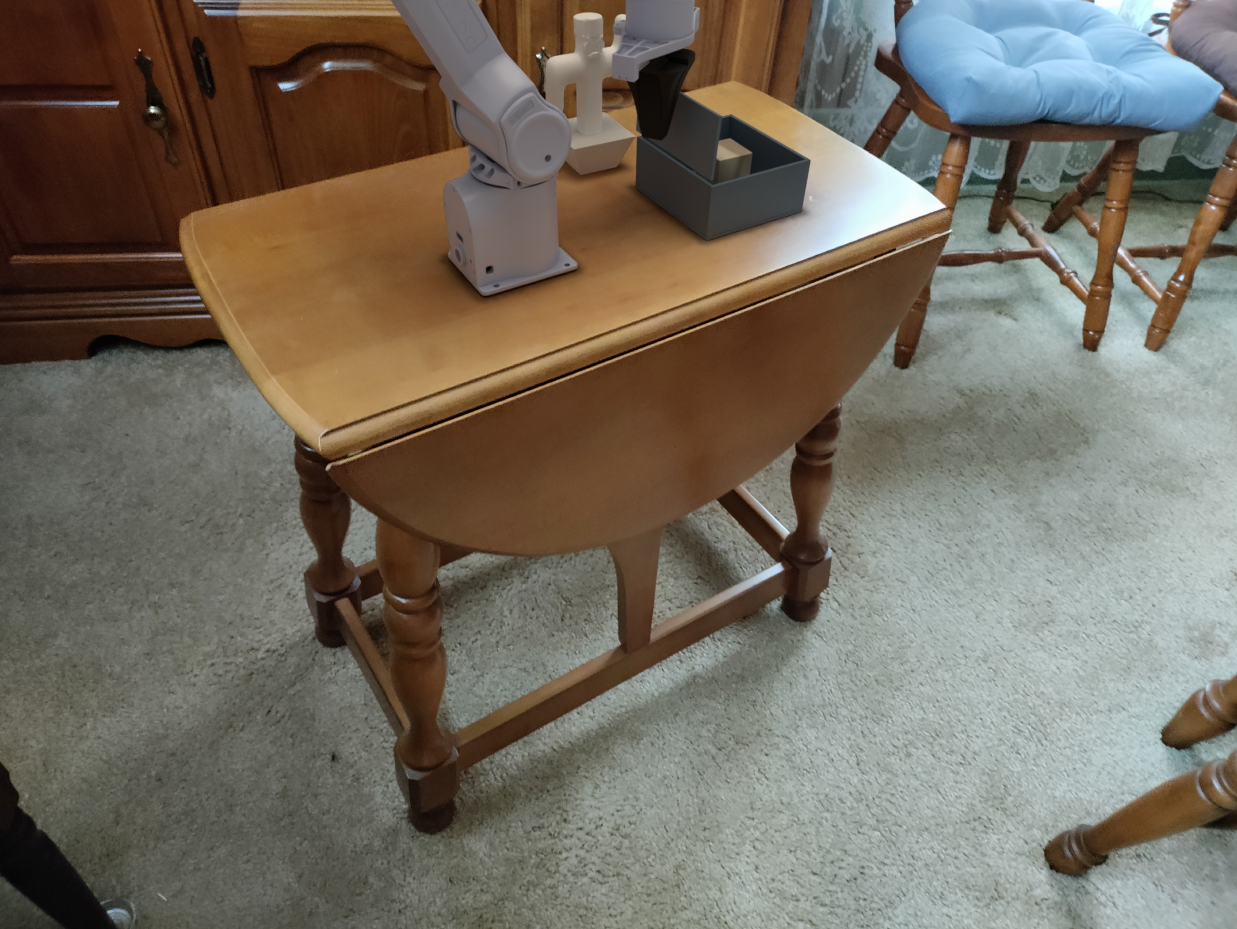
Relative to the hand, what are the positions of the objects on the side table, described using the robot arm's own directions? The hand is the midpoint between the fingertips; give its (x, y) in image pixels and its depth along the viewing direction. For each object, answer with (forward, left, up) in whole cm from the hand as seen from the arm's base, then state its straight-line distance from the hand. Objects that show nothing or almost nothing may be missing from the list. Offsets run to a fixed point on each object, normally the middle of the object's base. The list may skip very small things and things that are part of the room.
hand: (654, 136), depth 79 cm
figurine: (+1, +14, -8) cm, 16 cm away
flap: (+3, 0, +1) cm, 3 cm away
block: (+12, +1, -6) cm, 13 cm away
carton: (+8, 0, -8) cm, 12 cm away
